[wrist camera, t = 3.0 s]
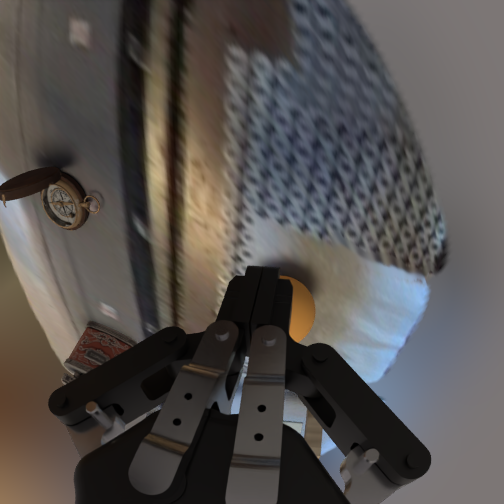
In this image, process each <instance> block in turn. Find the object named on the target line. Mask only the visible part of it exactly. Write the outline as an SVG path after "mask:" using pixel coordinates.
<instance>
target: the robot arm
mask: <svg viewBox="0 0 504 504" xmlns="http://www.w3.org/2000/svg"><path fill="white" fill-rule="evenodd" d="M292 301H293V285H292V283H291V281H290V279H280V268H277V267H261V266H247V269H246V272H245V276H238V275H236V276H235V277H234V278H233V279H232V280H231V281H230V282H229V285H228V287H227V291H226V293H225V296H224V299H223V302H222V305H221V307H220V310H219V313H218V316H217V319H216V321H215V322H214V323H212V324H210V325H209V326H208V327H207V329H206V331H204V332H200V333H194V334H186V333H185V331H184V330H183V329H181V328H179V327H173V326H172V327H166V328H164V329H162V330H160V331H159V332H157V333H155V334H153V335H152V336H150V337H148V338H147V339H145V340H143V341H141V342H140V343H138V344H136V345H134V346H133V347H131V348H129V349H127V350H126V351H124V352H122V353H121V354H119V355H117V356H115V357H114V358H112V359H110V360H108V361H107V362H105V363H103V364H101V365H99V366H98V367H96V368H94V369H92V370H91V371H89V372H87V373H85V374H84V375H82V376H80V377H78V378H76V379H75V380H73V381H71V382H69V383H67V384H66V385H64V386H62V387H60V388H59V389H57V390H55V391H54V392H53V393H52V394H51V396H50V398H49V402H48V406H49V409H50V411H51V412H52V413H53V414H54V415H55V416H56V417H57V418H58V419H59V420H60V421H61V422H62V423H63V424H64V425H65V426H66V428H67V430H68V432H69V434H70V436H71V439H72V441H73V443H74V445H75V447H76V449H77V451H78V454H79V455H80V457H81V460H80V461H79V463H78V465H77V466H76V469H75V472H74V485H75V495H76V497H75V499H76V500H75V504H380V503H381V502H382V501H384V500H385V499H386V498H387V497H389V496H390V495H391V494H392V493H394V492H395V491H396V490H398V489H400V488H402V487H404V486H406V485H407V484H409V483H411V482H413V481H414V480H416V479H418V478H420V477H421V476H423V475H424V474H425V473H426V472H427V471H428V469H429V467H430V465H431V455H430V452H429V451H428V449H427V448H426V447H425V446H424V445H423V444H422V443H421V442H420V440H419V439H418V438H417V437H416V436H415V435H414V434H413V433H412V432H411V431H410V430H409V429H408V428H407V427H406V426H405V425H404V423H403V422H402V421H401V420H400V419H399V418H398V417H397V416H396V415H395V414H394V413H393V412H392V411H391V410H390V409H389V407H388V406H387V405H386V404H385V403H384V402H383V401H382V400H381V399H380V398H379V397H378V396H377V395H376V394H375V393H374V391H373V390H372V389H371V388H370V387H369V386H368V385H367V384H366V383H365V382H364V381H363V380H362V379H361V377H360V376H359V375H358V374H357V373H356V372H355V371H354V370H353V369H352V368H351V367H350V366H349V365H348V363H347V362H346V361H345V360H344V359H343V358H342V357H341V356H340V355H339V354H338V353H337V352H336V351H335V349H333V348H332V347H331V346H329V345H327V344H324V343H315V344H312V345H309V346H308V347H307V346H304V345H302V344H299V343H297V342H296V341H294V340H293V339H292V338H291V336H290V334H289V331H290V323H291V314H292ZM246 356H247V357H249V362H248V369H247V376H246V377H245V378H244V383H243V390H242V397H241V404H240V411H239V414H231V406H232V402H233V399H234V396H235V393H236V390H237V387H238V384H239V382H240V379H241V376H242V373H243V365H244V361H245V357H246ZM285 389H287V390H290V391H292V392H295V393H297V394H298V397H299V398H300V400H301V401H302V402H303V404H304V405H305V406H306V407H307V409H308V410H309V411H310V413H311V414H312V415H313V417H314V418H315V419H316V420H317V422H318V423H319V424H320V425H321V427H322V428H323V429H324V431H325V432H326V433H327V434H328V436H329V437H330V438H331V439H332V441H333V442H334V443H335V444H336V446H337V447H338V448H339V449H340V450H341V452H342V453H343V454H344V455H345V457H346V458H345V459H344V460H343V462H342V463H341V466H340V474H341V476H342V478H343V480H344V483H345V490H344V493H343V492H342V491H341V490H340V488H339V487H338V486H337V484H336V483H335V481H334V480H333V479H332V477H331V476H330V475H329V473H328V472H327V470H326V469H325V468H324V466H323V465H322V463H321V462H320V461H319V459H318V458H317V456H316V455H315V453H314V452H313V450H312V449H311V448H310V446H309V445H308V443H307V442H306V440H305V439H304V438H303V437H302V436H301V435H300V433H298V432H297V431H296V430H295V429H293V428H292V427H290V426H288V425H286V424H284V423H283V410H284V391H285ZM164 401H165V402H164ZM163 402H164V405H163V407H162V409H160V410H158V411H156V412H154V413H152V414H151V415H149V416H148V417H146V418H145V419H143V420H142V421H140V422H139V423H137V424H135V425H134V426H132V427H131V428H129V429H128V430H126V431H125V425H127V424H128V423H130V422H132V421H133V420H135V419H137V418H138V417H140V416H142V415H143V414H145V413H147V412H148V411H150V410H152V409H153V408H155V407H156V406H158V405H160V404H161V403H163Z"/></svg>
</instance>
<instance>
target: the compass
mask: <svg viewBox="0 0 504 504" xmlns="http://www.w3.org/2000/svg"><path fill="white" fill-rule="evenodd" d="M40 191H41V200H42V205H43V208H44V210H45V212H46V214H47V215H48V217H49V218H50V219H51V220H52V221H53V222H54V223H55V224H56V225H58V226H60V227H62V228H64V229H67V230H71V231H72V230H76V229H78V228H80V227H81V226H82V225H83V224H84V223H85V221H86V220H87V217H88V213H89V212H90V213H98V212H99V210H100V204H99V201H98V200H97V199H96V198H95V197H94V196H91V195H89V196H85V194H84V192H83V190H82V188H81V187H80V186H79V184H78V183H77V182H76V181H75V180H74V179H73V178H71V177H70V176H68V175H66V174H64V173H60V169H59V168H57V167H45V168H40V169H35V170H32V171H28V172H25V173H23V174H20V175H18V176H16V177H14V178H12V179H10V180H8V181H6V182H5V183H3V184H2V185H1V186H0V200H1V201H3V203H4V206H5V203H6V202H5V201H10V200H15V199H20V198H23V197H26V196H29V195H32V194H35V193H37V192H40ZM87 197H92V198H94V199H95V200H96V201H97V203H98V211H96V212H92V211H90V210H89V209H88V207H89V206H90V202H87V199H86V198H87ZM5 207H6V206H5Z"/></svg>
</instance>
